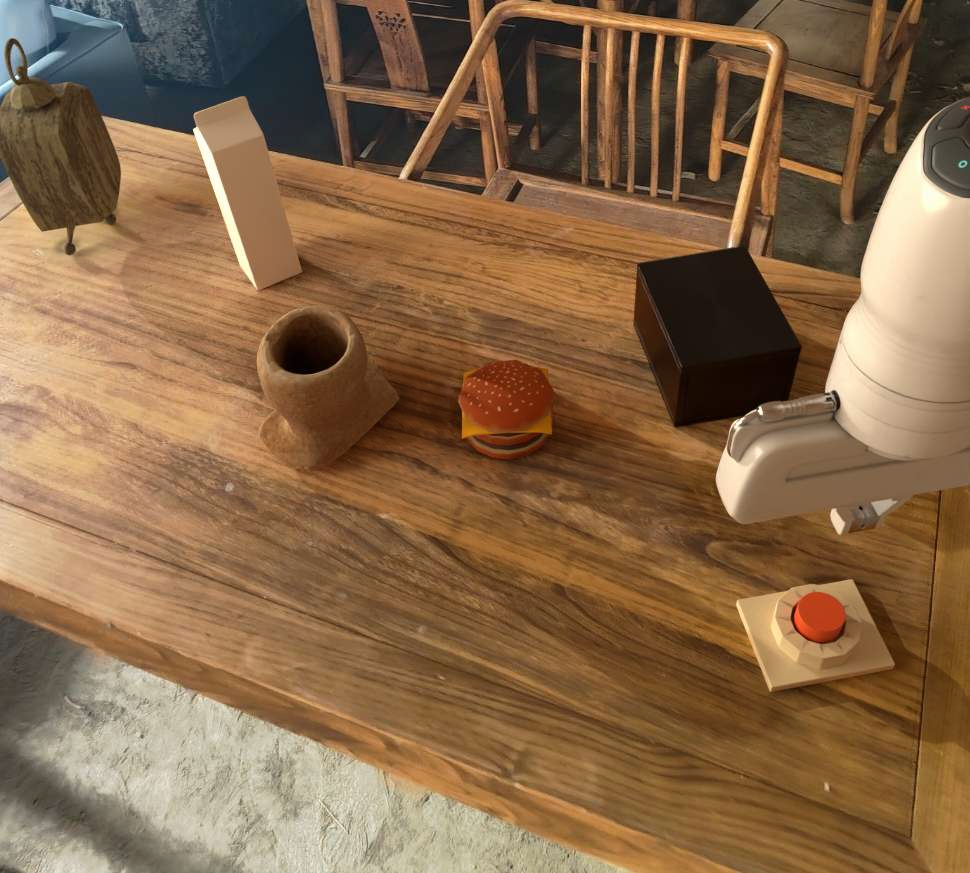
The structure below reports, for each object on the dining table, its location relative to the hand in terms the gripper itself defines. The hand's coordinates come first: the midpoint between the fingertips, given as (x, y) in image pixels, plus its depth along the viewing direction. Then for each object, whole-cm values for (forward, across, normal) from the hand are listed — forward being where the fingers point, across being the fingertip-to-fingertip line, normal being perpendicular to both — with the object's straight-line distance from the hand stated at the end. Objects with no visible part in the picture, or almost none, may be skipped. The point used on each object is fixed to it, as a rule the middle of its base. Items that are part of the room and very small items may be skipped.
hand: (854, 523), depth 63 cm
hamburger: (+18, -20, +29) cm, 39 cm away
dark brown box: (+17, +2, +33) cm, 37 cm away
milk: (+18, -44, +61) cm, 77 cm away
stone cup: (+18, -37, +33) cm, 52 cm away
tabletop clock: (+18, -67, +76) cm, 103 cm away
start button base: (+17, 0, 0) cm, 17 cm away
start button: (+14, 0, 0) cm, 14 cm away
